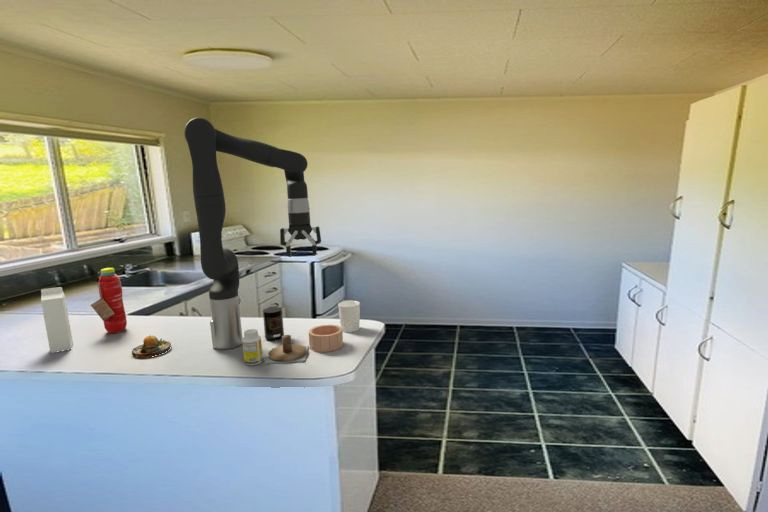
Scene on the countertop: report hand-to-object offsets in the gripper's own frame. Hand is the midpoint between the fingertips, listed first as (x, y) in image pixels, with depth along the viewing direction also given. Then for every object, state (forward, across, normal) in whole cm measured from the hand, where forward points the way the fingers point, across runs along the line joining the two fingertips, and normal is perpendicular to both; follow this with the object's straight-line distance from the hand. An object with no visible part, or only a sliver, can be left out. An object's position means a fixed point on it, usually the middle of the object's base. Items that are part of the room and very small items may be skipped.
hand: (302, 256), depth 161 cm
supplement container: (+28, -11, -6) cm, 31 cm away
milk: (+28, -85, -4) cm, 90 cm away
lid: (+28, -4, -23) cm, 36 cm away
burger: (+29, -51, -12) cm, 60 cm away
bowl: (+28, +8, -17) cm, 34 cm away
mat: (+28, -4, -23) cm, 37 cm away
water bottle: (+28, -75, +11) cm, 81 cm away
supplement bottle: (+28, -14, -27) cm, 42 cm away
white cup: (+28, +16, -2) cm, 33 cm away
